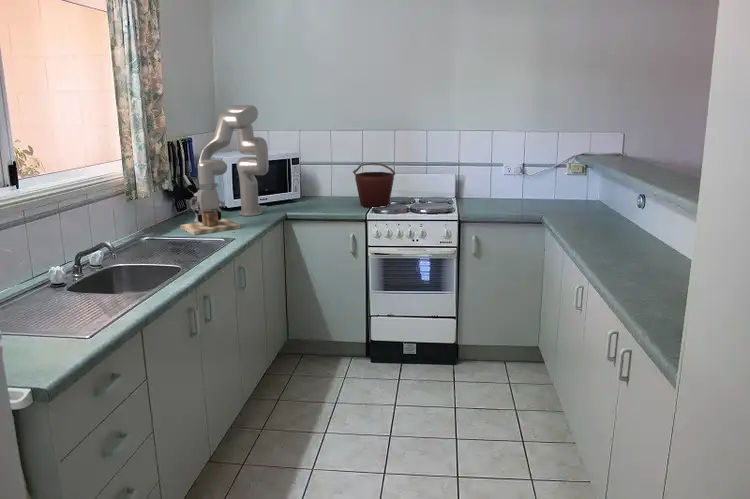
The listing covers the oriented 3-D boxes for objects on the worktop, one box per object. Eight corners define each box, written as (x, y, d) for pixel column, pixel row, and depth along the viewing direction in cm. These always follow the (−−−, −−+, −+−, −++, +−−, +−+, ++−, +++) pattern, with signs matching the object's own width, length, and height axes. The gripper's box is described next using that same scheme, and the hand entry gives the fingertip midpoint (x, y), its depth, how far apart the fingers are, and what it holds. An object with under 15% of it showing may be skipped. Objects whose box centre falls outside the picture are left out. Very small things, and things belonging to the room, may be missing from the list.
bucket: (348, 207, 364) (347, 164, 357) (363, 200, 384) (363, 160, 377) (387, 210, 355) (387, 166, 348) (400, 203, 374) (401, 161, 368)
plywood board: (225, 222, 327) (224, 218, 327) (240, 228, 313) (240, 224, 313) (180, 228, 313) (180, 224, 313) (194, 235, 299) (193, 231, 299)
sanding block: (211, 222, 318) (210, 210, 316) (218, 225, 311) (217, 212, 309) (201, 223, 315) (200, 211, 313) (209, 226, 308) (208, 214, 306)
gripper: (220, 184, 316) (222, 217, 320) (187, 188, 306) (190, 222, 310) (226, 186, 310) (229, 219, 314) (193, 189, 300) (196, 224, 304)
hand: (209, 220), depth 312 cm, fingers open, 9 cm apart
